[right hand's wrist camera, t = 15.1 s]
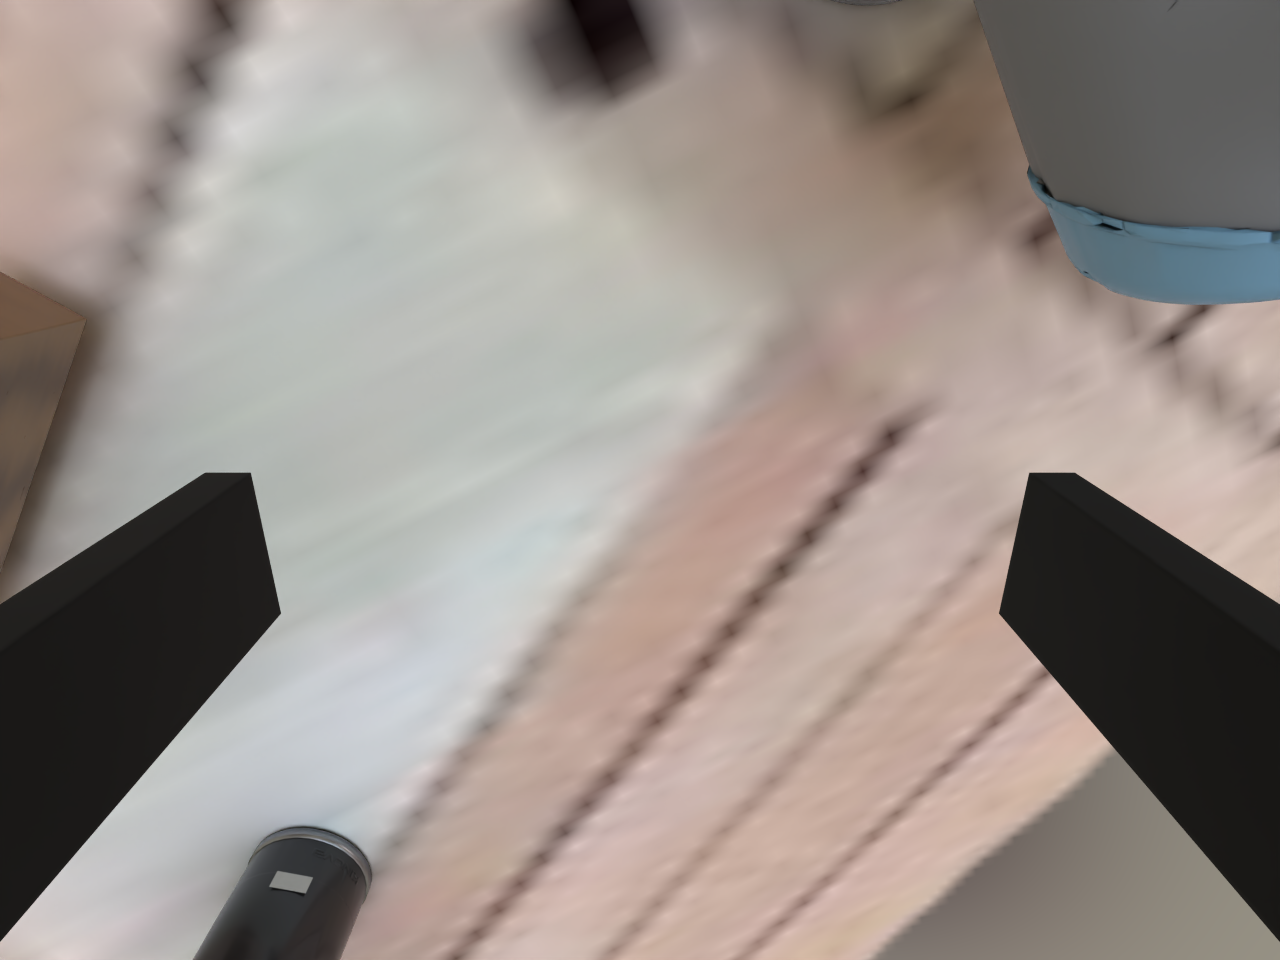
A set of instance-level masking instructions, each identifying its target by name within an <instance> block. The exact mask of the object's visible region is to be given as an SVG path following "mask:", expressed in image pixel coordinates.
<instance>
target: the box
mask: <svg viewBox="0 0 1280 960" xmlns="http://www.w3.org/2000/svg"><path fill="white" fill-rule="evenodd" d="M86 320H87V319H86V318H84V317H83V316H81V315H79V314H77V313H75V312H73V311H72V310H70V309H68V308H66V307H64V306H62V305H61V304H59V303H57V302H55V301H53V300H51V299H49V298H48V297H46V296H44V295H42V294H40V293H38V292H37V291H35V290H33V289H31V288H29V287H27V286H26V285H24V284H22V283H20V282H18V281H16V280H15V279H13V278H11V277H9V276H7V275H5V274H3V273H2V272H0V573H1V570H2V567H3V564H4V561H5V558H6V555H7V552H8V549H9V547H10V544H11V541H12V538H13V535H14V532H15V529H16V526H17V523H18V520H19V517H20V514H21V511H22V508H23V505H24V502H25V500H26V497H27V494H28V491H29V488H30V485H31V482H32V479H33V476H34V473H35V470H36V467H37V464H38V461H39V458H40V455H41V453H42V450H43V447H44V444H45V441H46V438H47V435H48V432H49V429H50V426H51V423H52V420H53V417H54V414H55V411H56V408H57V406H58V403H59V400H60V397H61V394H62V391H63V388H64V385H65V382H66V379H67V376H68V373H69V370H70V367H71V364H72V361H73V359H74V356H75V353H76V350H77V347H78V344H79V341H80V338H81V335H82V332H83V329H84V326H85V323H86Z"/></svg>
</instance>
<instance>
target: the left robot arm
mask: <svg viewBox="0 0 1280 960" xmlns="http://www.w3.org/2000/svg"><path fill="white" fill-rule="evenodd" d="M371 879H372V877H371V870H370V867H369V864H368V862H367V860H366V859H365V857H364V856H363V855H362V853H361V852H360V851H359V850H358V849H357V848H356V847H355V846H353V845H352V844H351V843H349V842H348V841H346V840H345V839H343V838H341V837H339V836H337V835H335V834H332V833H329V832H326V831H323V830H318V829H312V828H293V829H287V830H282V831H279V832H276V833H274V834H272V835H270V836H269V837H267V838H266V839H264V840H263V841H262V842H261V843H260V844H259V845H258V847H257V848H256V850H255V852H254V853H253V855H252V857H251V858H250V861H249V863H248V866H247V868H246V870H245V871H244V873H243V875H242V877H241V878H240V880H239V882H238V883H237V885H236V887H235V889H234V890H233V892H232V893H231V895H230V897H229V898H228V900H227V902H226V904H225V905H224V907H223V909H222V910H221V912H220V914H219V916H218V917H217V919H216V921H215V922H214V924H213V926H212V928H211V929H210V931H209V933H208V934H207V936H206V938H205V940H204V941H203V943H202V945H201V946H200V948H199V950H198V952H197V953H196V955H195V957H194V958H193V960H340V959H341V956H342V954H343V951H344V949H345V946H346V944H347V941H348V938H349V936H350V934H351V931H352V929H353V926H354V923H355V921H356V918H357V916H358V913H359V911H360V908H361V905H362V904H363V903H364V901H365V899H366V896H367V894H368V891H369V888H370V886H371Z"/></svg>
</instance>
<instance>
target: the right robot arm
mask: <svg viewBox="0 0 1280 960" xmlns="http://www.w3.org/2000/svg"><path fill="white" fill-rule="evenodd" d="M832 1H836V2H840V3H846V4H854V5H876V4H886V3H891V2H896V1H900V0H832ZM974 3H975V6H976V9H977V12H978V15H979V18H980V21H981V24H982V27H983V30H984V33H985V36H986V38H987V41H988V44H989V47H990V50H991V53H992V56H993V59H994V62H995V65H996V68H997V71H998V74H999V77H1000V80H1001V82H1002V85H1003V88H1004V91H1005V94H1006V97H1007V100H1008V103H1009V106H1010V109H1011V112H1012V115H1013V118H1014V121H1015V124H1016V126H1017V129H1018V132H1019V135H1020V138H1021V141H1022V144H1023V147H1024V150H1025V153H1026V156H1027V159H1028V162H1029V168H1028V172H1027V175H1028V178H1029V181H1030V184H1031V187H1032V189H1033V191H1034V192H1035V194H1036V195H1037V197H1038V198H1039V199H1040V200H1042V201H1043V202H1044V203H1045V204H1046V206H1047V208H1048V210H1049V213H1050V215H1051V218H1052V220H1053V222H1054V225H1055V227H1056V230H1057V232H1058V234H1059V237H1060V239H1061V242H1062V244H1063V246H1064V249H1065V251H1066V254H1067V256H1068V257H1069V259H1070V261H1071V262H1072V263H1073V265H1074V266H1075V267H1076V268H1077V269H1078V271H1079V272H1080V273H1082V274H1083V275H1084V276H1086V277H1088V278H1090V279H1092V280H1094V281H1097V282H1099V283H1100V284H1102V285H1104V286H1105V287H1106V288H1107V289H1108V290H1111V291H1113V292H1115V293H1118V294H1121V295H1125V296H1129V297H1133V298H1137V299H1142V300H1147V301H1153V302H1162V303H1172V304H1190V305H1210V304H1235V303H1251V302H1263V301H1271V300H1279V299H1280V0H974ZM280 614H281V611H280V607H279V602H278V597H277V593H276V588H275V583H274V579H273V574H272V570H271V565H270V560H269V556H268V551H267V546H266V542H265V537H264V532H263V528H262V523H261V518H260V514H259V509H258V505H257V500H256V495H255V491H254V486H253V481H252V477H251V473H204V474H203V475H201V476H199V477H198V478H196V479H195V480H193V481H192V482H190V483H189V484H187V485H185V486H184V487H182V488H181V489H179V490H178V491H176V492H175V493H173V494H171V495H170V496H168V497H167V498H165V499H164V500H162V501H160V502H159V503H157V504H156V505H154V506H153V507H151V508H150V509H148V510H146V511H145V512H143V513H142V514H140V515H139V516H137V517H136V518H134V519H132V520H131V521H129V522H128V523H126V524H125V525H123V526H122V527H120V528H118V529H117V530H115V531H114V532H112V533H111V534H109V535H108V536H106V537H104V538H103V539H101V540H100V541H98V542H97V543H95V544H94V545H92V546H90V547H89V548H87V549H86V550H84V551H83V552H81V553H79V554H78V555H76V556H75V557H73V558H72V559H70V560H69V561H67V562H65V563H64V564H62V565H61V566H59V567H58V568H56V569H55V570H53V571H51V572H50V573H48V574H47V575H45V576H44V577H42V578H41V579H39V580H37V581H36V582H34V583H33V584H31V585H30V586H28V587H27V588H25V589H23V590H22V591H20V592H19V593H17V594H16V595H14V596H13V597H11V598H9V599H8V600H6V601H5V602H3V603H2V604H0V941H1V940H2V939H3V938H4V937H5V936H6V934H7V933H8V932H9V931H10V930H11V929H12V927H13V926H14V925H15V924H16V923H17V921H18V920H19V919H20V918H21V917H22V916H23V914H24V913H25V912H26V911H27V910H28V909H29V907H30V906H31V905H32V904H33V903H34V902H35V900H36V899H37V898H38V897H39V896H40V895H41V893H42V892H43V891H44V890H45V889H46V888H47V886H48V885H49V884H50V883H51V882H52V881H53V879H54V878H55V877H56V876H57V875H58V874H59V872H60V871H61V870H62V869H63V868H64V867H65V865H66V864H67V863H68V862H69V861H70V860H71V858H72V857H73V856H74V855H75V854H76V853H77V851H78V850H79V849H80V848H81V847H82V845H83V844H84V843H85V842H86V841H87V840H88V838H89V837H90V836H91V835H92V834H93V833H94V831H95V830H96V829H97V828H98V827H99V826H100V824H101V823H102V822H103V821H104V820H105V819H106V817H107V816H108V815H109V814H110V813H111V812H112V810H113V809H114V808H115V807H116V806H117V805H118V803H119V802H120V801H121V800H122V799H123V798H124V796H125V795H126V794H127V793H128V792H129V791H130V789H131V788H132V787H133V786H134V785H135V784H136V782H137V781H138V780H139V779H140V778H141V777H142V775H143V774H144V773H145V772H146V771H147V769H148V768H149V767H150V766H151V765H152V764H153V762H154V761H155V760H156V759H157V758H158V757H159V755H160V754H161V753H162V752H163V751H164V750H165V748H166V747H167V746H168V745H169V744H170V743H171V741H172V740H173V739H174V738H175V737H176V736H177V734H178V733H179V732H180V731H181V730H182V729H183V727H184V726H185V725H186V724H187V723H188V722H189V720H190V719H191V718H192V717H193V716H194V715H195V713H196V712H197V711H198V710H199V709H200V708H201V706H202V705H203V704H204V703H205V702H206V701H207V699H208V698H209V697H210V696H211V695H212V693H213V692H214V691H215V690H216V689H217V688H218V686H219V685H220V684H221V683H222V682H223V681H224V679H225V678H226V677H227V676H228V675H229V674H230V672H231V671H232V670H233V669H234V668H235V667H236V665H237V664H238V663H239V662H240V661H241V660H242V658H243V657H244V656H245V655H246V654H247V653H248V651H249V650H250V649H251V648H252V647H253V646H254V644H255V643H256V642H257V641H258V640H259V639H260V637H261V636H262V635H263V634H264V633H265V632H266V630H267V629H268V628H269V627H270V626H271V625H272V623H273V622H274V621H275V620H276V619H277V617H278V616H279V615H280ZM999 614H1000V615H1001V616H1002V617H1003V619H1004V620H1005V621H1006V622H1007V623H1008V625H1009V626H1010V627H1011V628H1012V629H1013V630H1014V632H1015V633H1016V634H1017V635H1018V636H1019V637H1020V639H1021V640H1022V641H1023V642H1024V643H1025V644H1026V646H1027V647H1028V648H1029V649H1030V650H1031V651H1032V653H1033V654H1034V655H1035V656H1036V657H1037V658H1038V660H1039V661H1040V662H1041V663H1042V664H1043V665H1044V667H1045V668H1046V669H1047V670H1048V671H1049V672H1050V674H1051V675H1052V676H1053V677H1054V678H1055V679H1056V681H1057V682H1058V683H1059V684H1060V685H1061V686H1062V688H1063V689H1064V690H1065V691H1066V692H1067V693H1068V695H1069V696H1070V697H1071V698H1072V699H1073V701H1074V702H1075V703H1076V704H1077V705H1078V706H1079V708H1080V709H1081V710H1082V711H1083V712H1084V713H1085V715H1086V716H1087V717H1088V718H1089V719H1090V720H1091V722H1092V723H1093V724H1094V725H1095V726H1096V727H1097V729H1098V730H1099V731H1100V732H1101V733H1102V734H1103V736H1104V737H1105V738H1106V739H1107V740H1108V741H1109V743H1110V744H1111V745H1112V746H1113V747H1114V748H1115V750H1116V751H1117V752H1118V753H1119V754H1120V755H1121V757H1122V758H1123V759H1124V760H1125V761H1126V762H1127V764H1128V765H1129V766H1130V767H1131V768H1132V769H1133V771H1134V772H1135V773H1136V774H1137V775H1138V777H1139V778H1140V779H1141V780H1142V781H1143V782H1144V783H1145V785H1146V786H1147V787H1148V788H1149V789H1150V791H1151V792H1152V793H1153V794H1154V795H1155V796H1156V798H1157V799H1158V800H1159V801H1160V802H1161V803H1162V805H1163V806H1164V807H1165V808H1166V809H1167V810H1168V812H1169V813H1170V814H1171V815H1172V816H1173V817H1174V819H1175V820H1176V821H1177V822H1178V823H1179V824H1180V826H1181V827H1182V828H1183V829H1184V830H1185V831H1186V833H1187V834H1188V835H1189V836H1190V837H1191V838H1192V840H1193V841H1194V842H1195V843H1196V844H1197V845H1198V847H1199V848H1200V849H1201V850H1202V851H1203V852H1204V854H1205V855H1206V856H1207V857H1208V858H1209V860H1210V861H1211V862H1212V863H1213V864H1214V865H1215V867H1216V868H1217V869H1218V870H1219V871H1220V872H1221V874H1222V875H1223V876H1224V877H1225V878H1226V879H1227V881H1228V882H1229V883H1230V884H1231V885H1232V886H1233V888H1234V889H1235V890H1236V891H1237V892H1238V893H1239V895H1240V896H1241V897H1242V898H1243V899H1244V900H1245V902H1246V903H1247V904H1248V905H1249V906H1250V907H1251V909H1252V910H1253V911H1254V912H1255V913H1256V914H1257V916H1258V917H1259V918H1260V919H1261V920H1262V921H1263V923H1264V924H1265V925H1266V926H1267V927H1268V929H1269V930H1270V931H1271V932H1272V933H1273V934H1274V935H1275V937H1276V938H1277V939H1278V940H1279V941H1280V604H1278V603H1277V602H1275V601H1274V600H1272V599H1271V598H1269V597H1267V596H1266V595H1264V594H1263V593H1261V592H1260V591H1258V590H1257V589H1255V588H1253V587H1252V586H1250V585H1249V584H1247V583H1246V582H1244V581H1243V580H1241V579H1239V578H1238V577H1236V576H1235V575H1233V574H1232V573H1230V572H1229V571H1227V570H1225V569H1224V568H1222V567H1221V566H1219V565H1218V564H1216V563H1215V562H1213V561H1211V560H1210V559H1208V558H1207V557H1205V556H1204V555H1202V554H1201V553H1199V552H1197V551H1196V550H1194V549H1193V548H1191V547H1190V546H1188V545H1186V544H1185V543H1183V542H1182V541H1180V540H1179V539H1177V538H1176V537H1174V536H1172V535H1171V534H1169V533H1168V532H1166V531H1165V530H1163V529H1162V528H1160V527H1158V526H1157V525H1155V524H1154V523H1152V522H1151V521H1149V520H1148V519H1146V518H1144V517H1143V516H1141V515H1140V514H1138V513H1137V512H1135V511H1134V510H1132V509H1130V508H1129V507H1127V506H1126V505H1124V504H1123V503H1121V502H1120V501H1118V500H1116V499H1115V498H1113V497H1112V496H1110V495H1109V494H1107V493H1105V492H1104V491H1102V490H1101V489H1099V488H1098V487H1096V486H1095V485H1093V484H1091V483H1090V482H1088V481H1087V480H1085V479H1084V478H1082V477H1081V476H1079V475H1077V474H1076V473H1029V477H1028V481H1027V486H1026V491H1025V495H1024V500H1023V505H1022V509H1021V514H1020V518H1019V523H1018V528H1017V532H1016V537H1015V542H1014V546H1013V551H1012V556H1011V560H1010V565H1009V570H1008V574H1007V579H1006V583H1005V588H1004V593H1003V597H1002V602H1001V607H1000V611H999Z"/></svg>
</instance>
